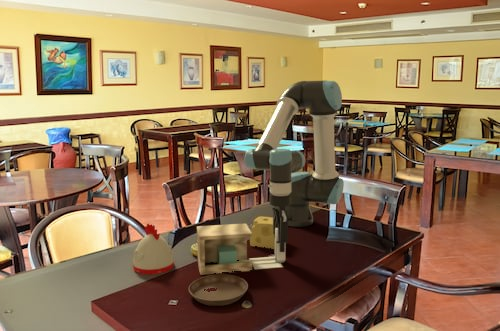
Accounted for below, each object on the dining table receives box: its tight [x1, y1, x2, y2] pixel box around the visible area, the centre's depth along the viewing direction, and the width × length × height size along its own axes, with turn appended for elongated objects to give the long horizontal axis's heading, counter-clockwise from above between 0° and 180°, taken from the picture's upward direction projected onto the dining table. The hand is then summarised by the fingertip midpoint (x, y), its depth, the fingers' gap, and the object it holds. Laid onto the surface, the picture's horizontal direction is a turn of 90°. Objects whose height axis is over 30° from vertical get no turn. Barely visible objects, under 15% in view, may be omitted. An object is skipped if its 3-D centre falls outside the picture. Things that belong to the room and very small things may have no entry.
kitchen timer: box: [132, 223, 175, 275], centre depth 158 cm, size 14×14×15 cm
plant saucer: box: [188, 273, 249, 307], centre depth 136 cm, size 18×18×3 cm
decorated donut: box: [190, 242, 198, 258], centre depth 171 cm, size 10×11×4 cm
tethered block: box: [217, 227, 286, 264], centre depth 159 cm, size 24×6×12 cm, turn 101°
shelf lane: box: [196, 223, 253, 276], centre depth 157 cm, size 18×12×13 cm, turn 101°
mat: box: [248, 256, 284, 270], centre depth 161 cm, size 10×10×1 cm
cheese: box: [249, 215, 275, 250], centre depth 181 cm, size 10×11×10 cm
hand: (279, 257), depth 162 cm, fingers closed on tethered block, 3 cm apart
